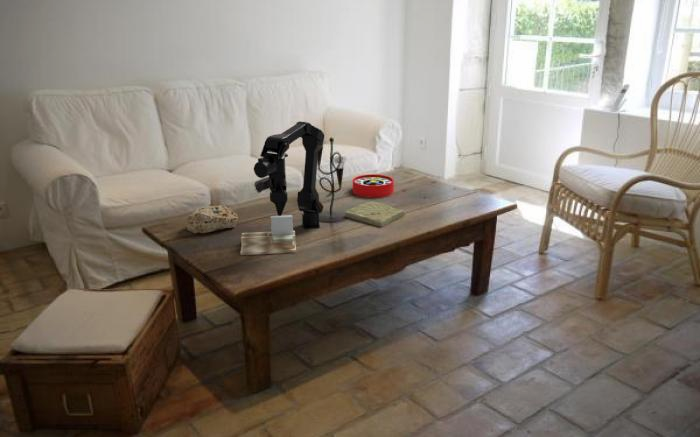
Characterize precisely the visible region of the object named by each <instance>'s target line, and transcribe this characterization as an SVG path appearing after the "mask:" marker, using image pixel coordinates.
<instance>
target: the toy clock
mask: <svg viewBox="0 0 700 437" xmlns="http://www.w3.org/2000/svg"><path fill="white" fill-rule="evenodd" d="M394 192H395V180H394V178H393V177H391V176H389V175H385V174H377V173H376V174H373V173H372V174H362V175H358V176H355V177H354V178H352V194H355V195H356V196H359V197H363V198H373V199H374V198H383V197H384V198H385V197H389V196H391V195H393V194H394Z"/></svg>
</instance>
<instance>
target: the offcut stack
mask: <svg viewBox="0 0 700 437" xmlns="http://www.w3.org/2000/svg"><path fill="white" fill-rule="evenodd" d="M295 243H296V240H295V241H293V235H288V236H273V239H271V241H270V249H287V248H295Z"/></svg>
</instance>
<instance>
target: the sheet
mask: <svg viewBox="0 0 700 437" xmlns="http://www.w3.org/2000/svg"><path fill="white" fill-rule="evenodd" d="M293 221H294V220H293V215H292V214H291V215H290V214H287V215H285V214H284V215H281V216H278V215H271V216H270V228H271V231H270V232H272V236H276V235H293V231H294V226H293Z"/></svg>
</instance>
